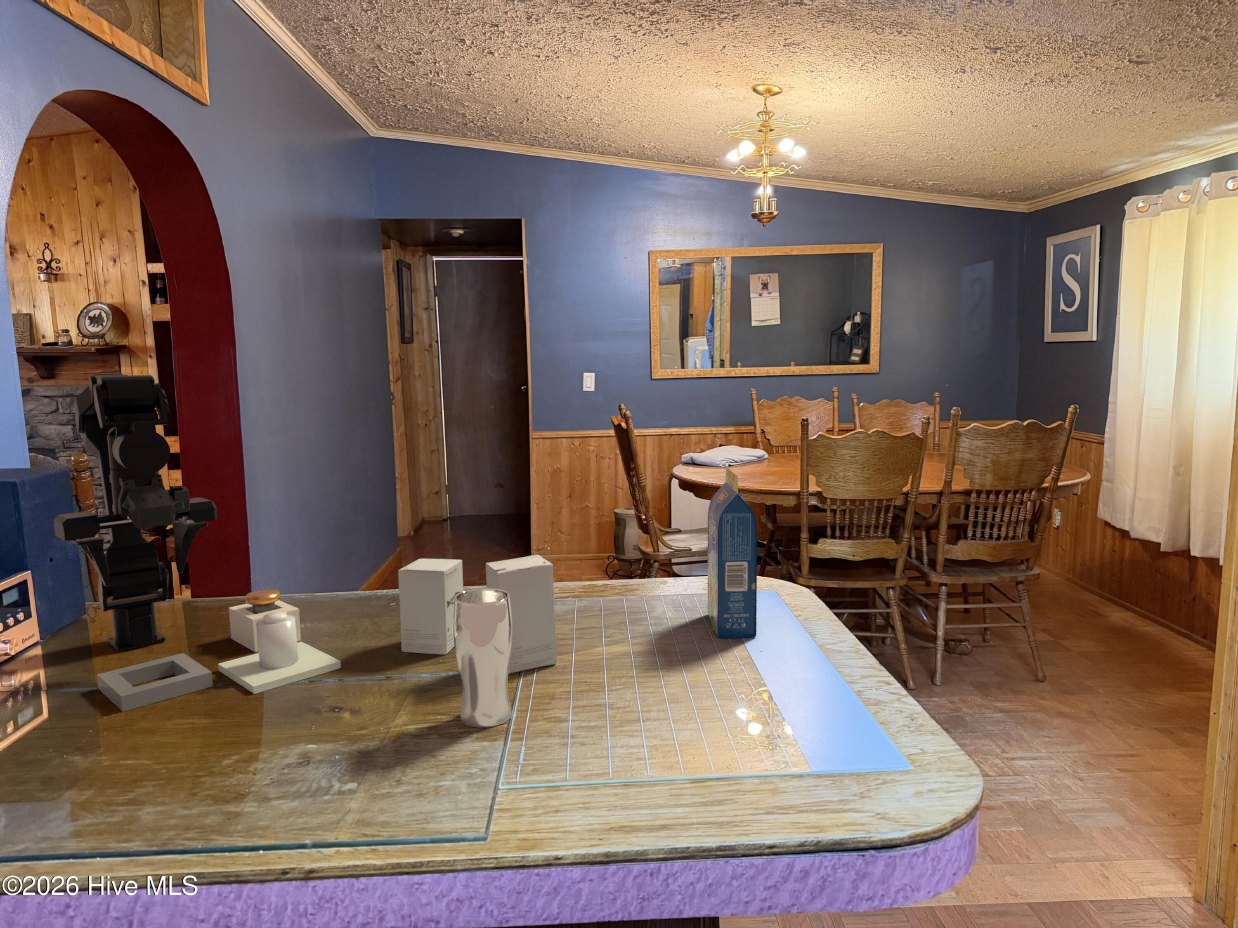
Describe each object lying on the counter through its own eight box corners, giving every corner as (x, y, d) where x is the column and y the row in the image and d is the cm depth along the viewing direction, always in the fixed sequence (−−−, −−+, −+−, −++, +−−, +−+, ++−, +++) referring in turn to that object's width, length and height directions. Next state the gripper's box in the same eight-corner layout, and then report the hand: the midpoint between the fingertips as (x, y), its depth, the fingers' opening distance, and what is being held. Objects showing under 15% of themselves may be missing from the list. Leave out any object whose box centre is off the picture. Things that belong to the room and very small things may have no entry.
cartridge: (254, 662, 114) (249, 615, 113) (289, 653, 117) (285, 607, 116) (268, 671, 110) (264, 622, 109) (304, 661, 113) (300, 614, 113)
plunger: (243, 628, 126) (240, 594, 125) (273, 621, 129) (271, 587, 129) (255, 635, 123) (253, 600, 122) (287, 627, 126) (284, 593, 125)
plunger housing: (231, 638, 127) (228, 607, 126) (275, 627, 132) (273, 597, 131) (255, 652, 120) (252, 619, 120) (301, 640, 126) (298, 608, 125)
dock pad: (218, 670, 113) (218, 663, 113) (301, 647, 122) (301, 641, 122) (254, 693, 105) (253, 686, 105) (340, 667, 114) (340, 660, 114)
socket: (98, 688, 108) (97, 674, 107) (184, 666, 115) (183, 652, 115) (122, 711, 100) (121, 696, 100) (212, 686, 108) (211, 671, 108)
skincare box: (543, 652, 119) (540, 553, 117) (558, 666, 114) (556, 562, 112) (487, 662, 115) (484, 560, 113) (500, 676, 110) (497, 569, 108)
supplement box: (447, 655, 118) (443, 571, 117) (400, 652, 120) (396, 569, 118) (466, 638, 125) (463, 558, 124) (422, 635, 127) (418, 556, 125)
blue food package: (744, 613, 136) (745, 465, 133) (757, 637, 124) (758, 475, 121) (706, 614, 136) (706, 466, 133) (716, 638, 124) (716, 476, 121)
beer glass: (459, 705, 101) (455, 588, 99) (516, 703, 101) (513, 586, 99) (453, 731, 94) (448, 605, 92) (514, 728, 94) (510, 603, 92)
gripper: (69, 480, 99) (82, 605, 101) (228, 465, 112) (236, 575, 114) (47, 472, 106) (59, 588, 108) (198, 459, 120) (206, 562, 122)
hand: (144, 578), depth 113 cm, fingers open, 9 cm apart
